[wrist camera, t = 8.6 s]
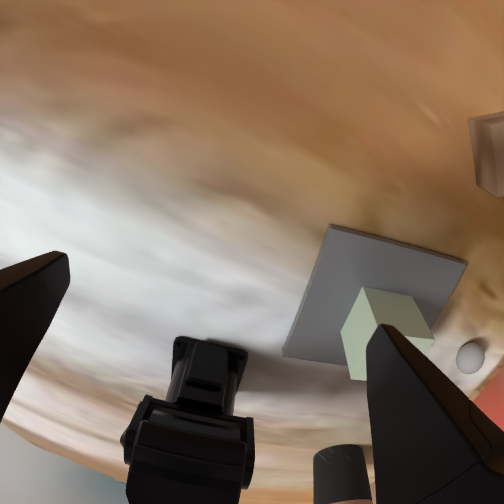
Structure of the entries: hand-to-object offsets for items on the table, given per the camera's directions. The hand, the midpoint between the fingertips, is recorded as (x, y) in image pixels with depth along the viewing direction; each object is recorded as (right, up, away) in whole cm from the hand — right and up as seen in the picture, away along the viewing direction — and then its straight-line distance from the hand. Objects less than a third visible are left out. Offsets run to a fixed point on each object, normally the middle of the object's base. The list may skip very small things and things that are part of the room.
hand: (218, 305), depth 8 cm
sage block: (+11, -3, +15) cm, 19 cm away
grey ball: (+23, -9, +17) cm, 29 cm away
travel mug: (+13, -27, +29) cm, 41 cm away
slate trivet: (+11, -3, +16) cm, 19 cm away
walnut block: (+19, +9, +9) cm, 23 cm away
